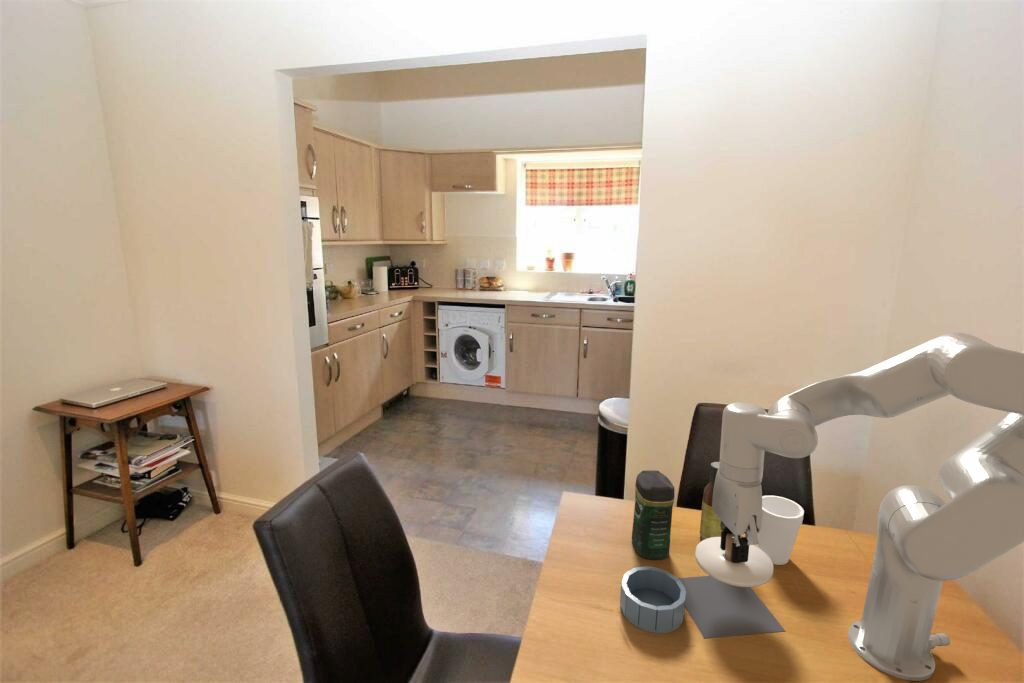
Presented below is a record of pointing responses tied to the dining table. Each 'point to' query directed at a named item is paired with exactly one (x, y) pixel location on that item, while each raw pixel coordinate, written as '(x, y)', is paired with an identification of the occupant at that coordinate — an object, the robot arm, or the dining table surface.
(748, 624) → the mat
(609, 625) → the dining table surface
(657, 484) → the coffee jar
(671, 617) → the bowl
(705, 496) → the sauce bottle
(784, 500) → the foam cup
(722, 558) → the lid
